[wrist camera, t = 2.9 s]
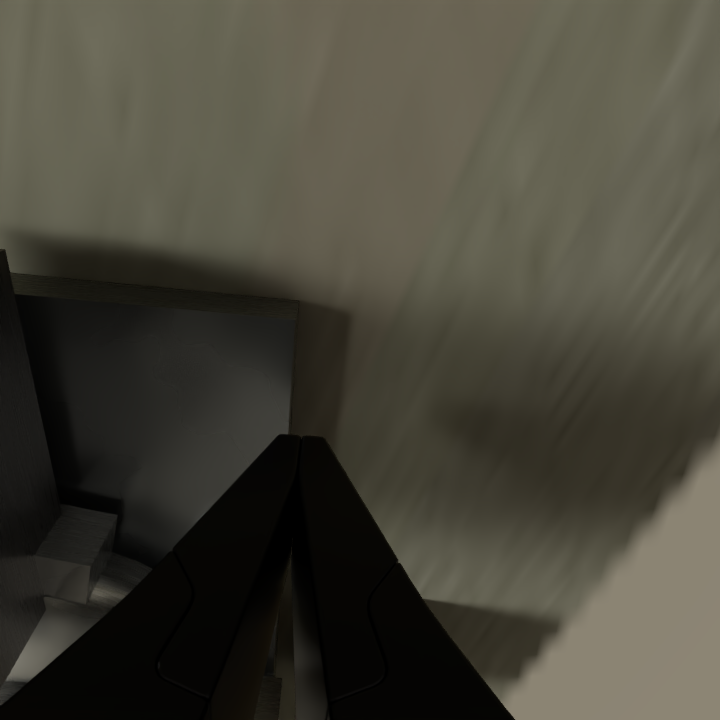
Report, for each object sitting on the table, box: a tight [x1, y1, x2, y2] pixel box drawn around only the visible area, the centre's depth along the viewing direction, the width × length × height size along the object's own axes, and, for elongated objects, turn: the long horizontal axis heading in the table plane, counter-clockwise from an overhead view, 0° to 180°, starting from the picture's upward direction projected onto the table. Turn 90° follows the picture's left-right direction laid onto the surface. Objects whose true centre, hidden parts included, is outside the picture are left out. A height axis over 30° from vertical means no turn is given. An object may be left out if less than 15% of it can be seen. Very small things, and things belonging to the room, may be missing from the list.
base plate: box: [10, 273, 299, 677], centre depth 15 cm, size 22×12×1 cm, turn 173°
